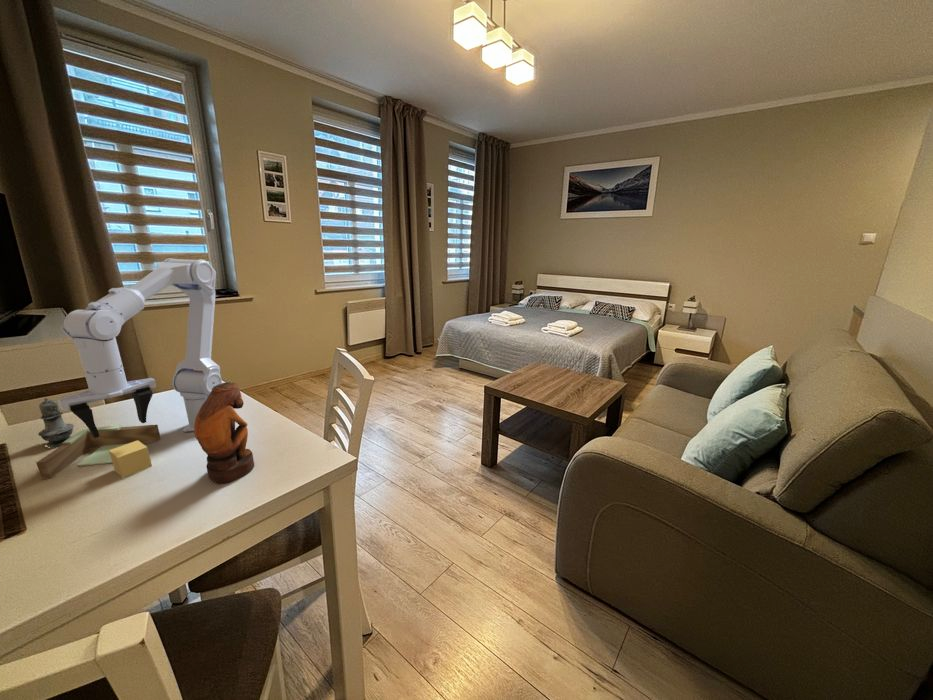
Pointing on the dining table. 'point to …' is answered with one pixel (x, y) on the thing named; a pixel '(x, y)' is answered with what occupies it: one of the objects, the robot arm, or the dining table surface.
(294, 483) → the dining table surface
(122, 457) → the ochre block
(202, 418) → the figurine
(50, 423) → the grey stone finial
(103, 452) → the sage pad
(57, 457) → the walnut walls
